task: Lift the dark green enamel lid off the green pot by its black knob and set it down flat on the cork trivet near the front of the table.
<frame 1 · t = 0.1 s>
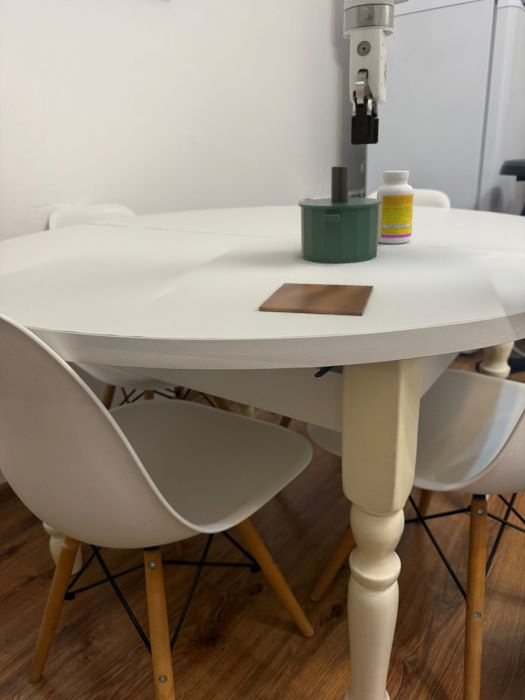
hand: (365, 144, 88), 18 cm above the table, tool pointing down, fingers open, 9 cm apart
trivet: (319, 299, 66), on the table
pot: (339, 255, 92), on the table
pot lid: (339, 204, 89), point 8 cm above the table, touching pot
supplement bottle: (392, 242, 103), on the table
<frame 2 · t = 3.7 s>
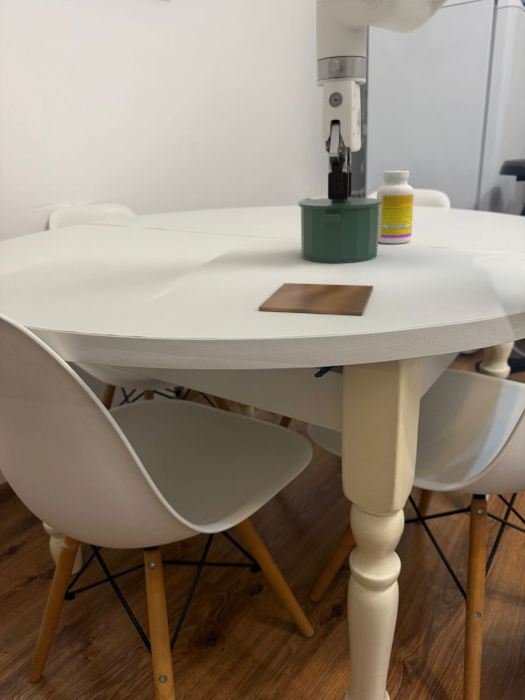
hand: (339, 197, 89), 10 cm above the table, tool pointing down, fingers closed on pot lid, 2 cm apart
pot lid: (339, 204, 89), point 9 cm above the table, touching gripper, pot
everything else where it was.
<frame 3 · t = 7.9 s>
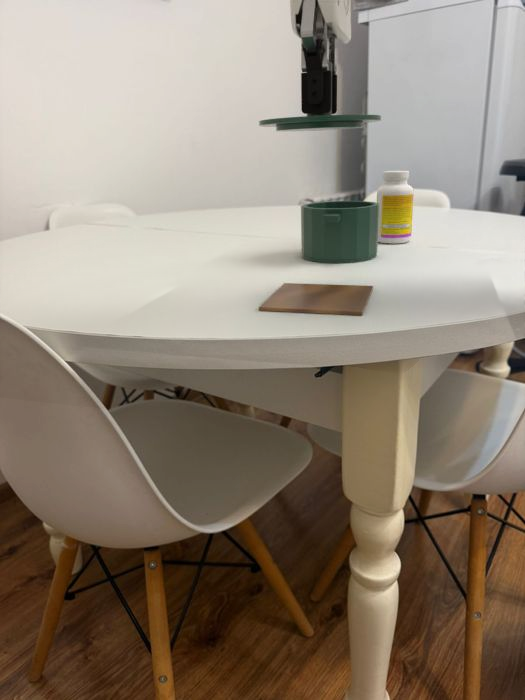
hand: (319, 112, 60), 21 cm above the table, tool pointing down, fingers closed on pot lid, 2 cm apart
pot lid: (319, 123, 61), point 20 cm above the table, touching gripper
everything else where it was.
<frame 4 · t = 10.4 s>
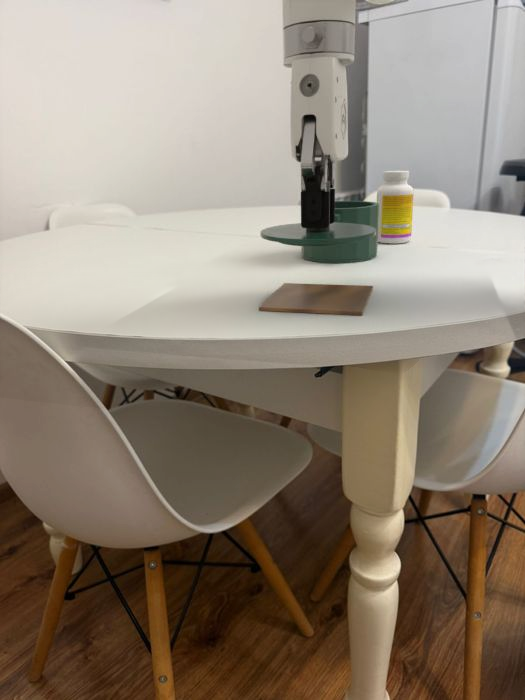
hand: (318, 224, 63), 9 cm above the table, tool pointing down, fingers closed on pot lid, 2 cm apart
pot lid: (317, 234, 64), point 8 cm above the table, touching gripper
everything else where it was.
when the fingers open (2 cm above the table, at t = 12.2 s): pot lid stays where it is, resting on trivet.
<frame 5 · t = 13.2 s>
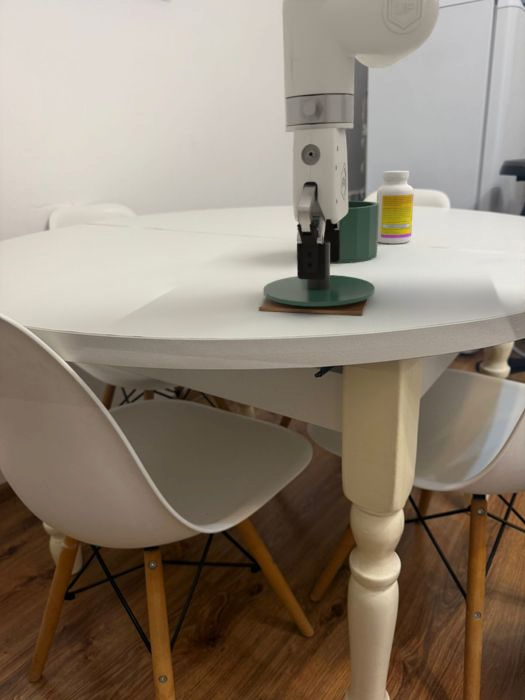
hand: (320, 269, 65), 4 cm above the table, tool pointing down, fingers open, 9 cm apart
pot lid: (318, 291, 66), point 1 cm above the table, touching trivet
everything else where it was.
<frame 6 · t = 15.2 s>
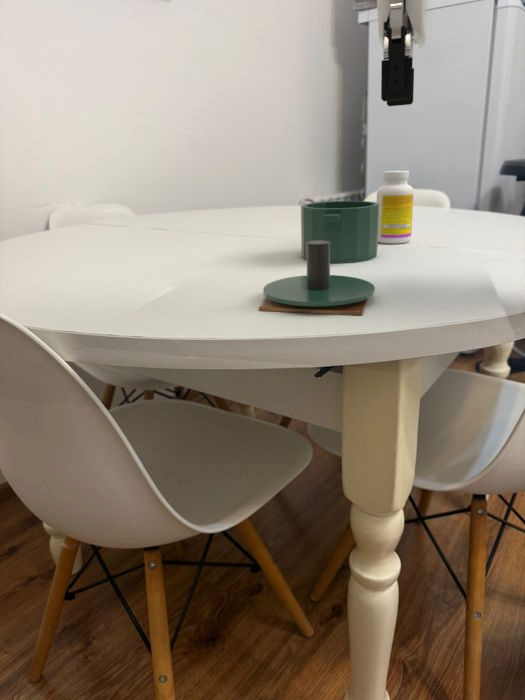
hand: (398, 102, 63), 22 cm above the table, tool pointing down, fingers open, 9 cm apart
nothing on the table moved.
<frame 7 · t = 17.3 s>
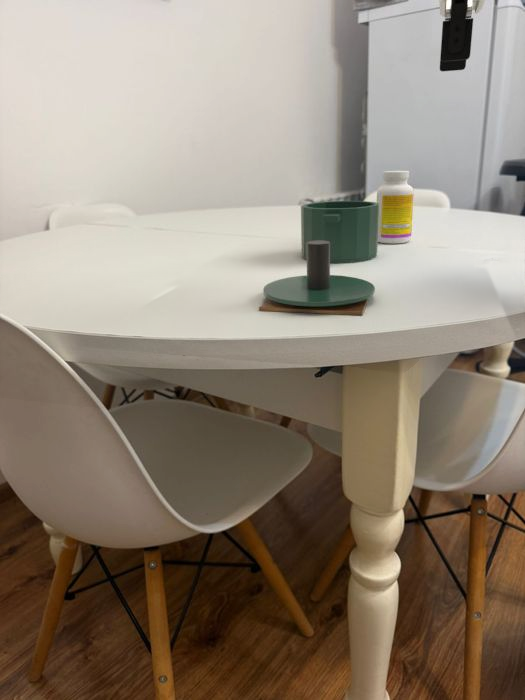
hand: (453, 65, 66), 26 cm above the table, tool pointing down, fingers open, 9 cm apart
nothing on the table moved.
at the end: pot lid inside the target area on the trivet (0.1 cm from its centre), point 1.0 cm above the trivet's base; pot lid tilted 0°; the gripper is holding nothing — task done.
